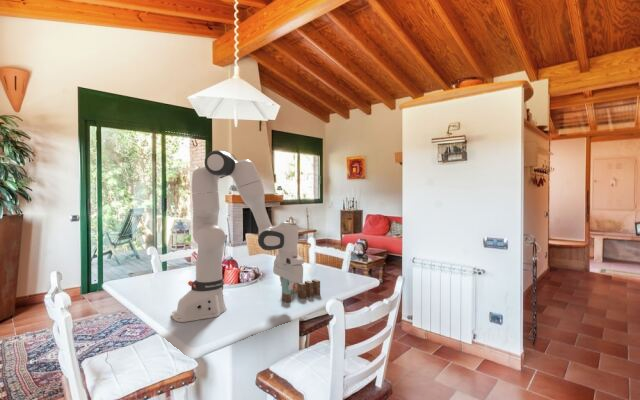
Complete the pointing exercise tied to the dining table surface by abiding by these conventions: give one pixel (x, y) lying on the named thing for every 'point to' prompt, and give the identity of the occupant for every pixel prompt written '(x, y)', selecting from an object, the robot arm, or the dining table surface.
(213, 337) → the dining table surface
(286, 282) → the teal domino
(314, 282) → the domino
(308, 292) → the domino
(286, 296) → the domino
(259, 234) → the robot arm
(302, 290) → the domino
